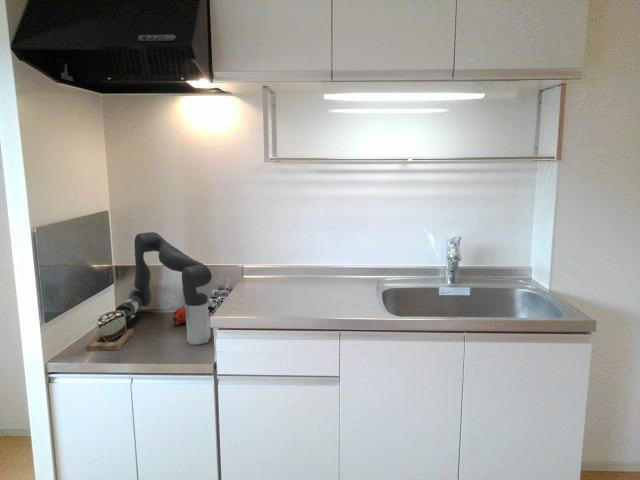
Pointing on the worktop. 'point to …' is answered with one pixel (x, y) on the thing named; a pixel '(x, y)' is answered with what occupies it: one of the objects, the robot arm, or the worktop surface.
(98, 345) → the notched board
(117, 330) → the food container
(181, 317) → the dragon fruit
